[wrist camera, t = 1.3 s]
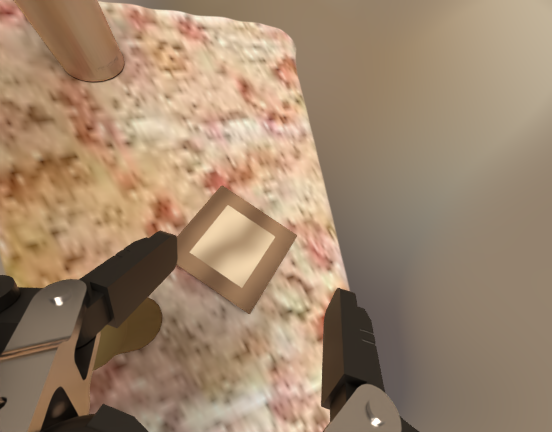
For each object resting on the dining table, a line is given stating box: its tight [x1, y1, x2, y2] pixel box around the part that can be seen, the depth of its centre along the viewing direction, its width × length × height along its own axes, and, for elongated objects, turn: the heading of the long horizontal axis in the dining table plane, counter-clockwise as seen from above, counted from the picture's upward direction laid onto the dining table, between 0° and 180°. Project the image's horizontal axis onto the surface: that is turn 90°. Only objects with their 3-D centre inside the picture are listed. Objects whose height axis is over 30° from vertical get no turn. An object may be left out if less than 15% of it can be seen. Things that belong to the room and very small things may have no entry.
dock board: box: [176, 186, 297, 314], centre depth 30 cm, size 13×12×3 cm
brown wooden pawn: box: [93, 297, 162, 371], centre depth 21 cm, size 6×6×11 cm
